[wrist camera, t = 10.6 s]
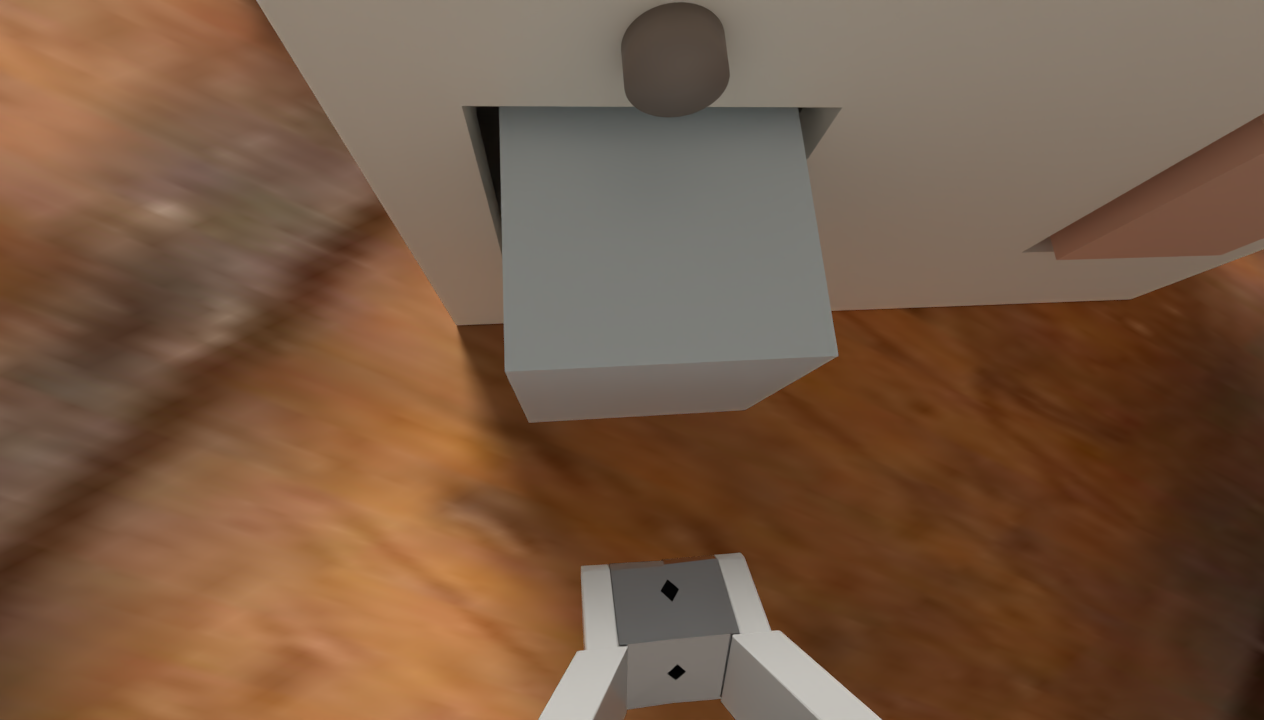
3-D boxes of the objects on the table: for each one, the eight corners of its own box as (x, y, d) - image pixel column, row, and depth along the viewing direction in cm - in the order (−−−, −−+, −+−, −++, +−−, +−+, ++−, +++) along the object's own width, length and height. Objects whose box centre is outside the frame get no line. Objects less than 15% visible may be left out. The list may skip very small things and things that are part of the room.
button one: (529, 422, 13) (504, 371, 8) (519, 114, 15) (495, -73, 10) (744, 410, 14) (838, 355, 9) (709, 114, 16) (770, -62, 11)
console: (456, 343, 19) (50, -249, 4) (456, 83, 21) (196, -880, 6) (1135, 314, 21) (2323, -99, 7) (1068, 88, 24) (1851, -577, 9)
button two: (1056, 260, 16) (1272, 148, 11) (990, 12, 18) (1148, -176, 13) (1220, 255, 16) (1494, 147, 11) (1139, 16, 18) (1343, -163, 13)
